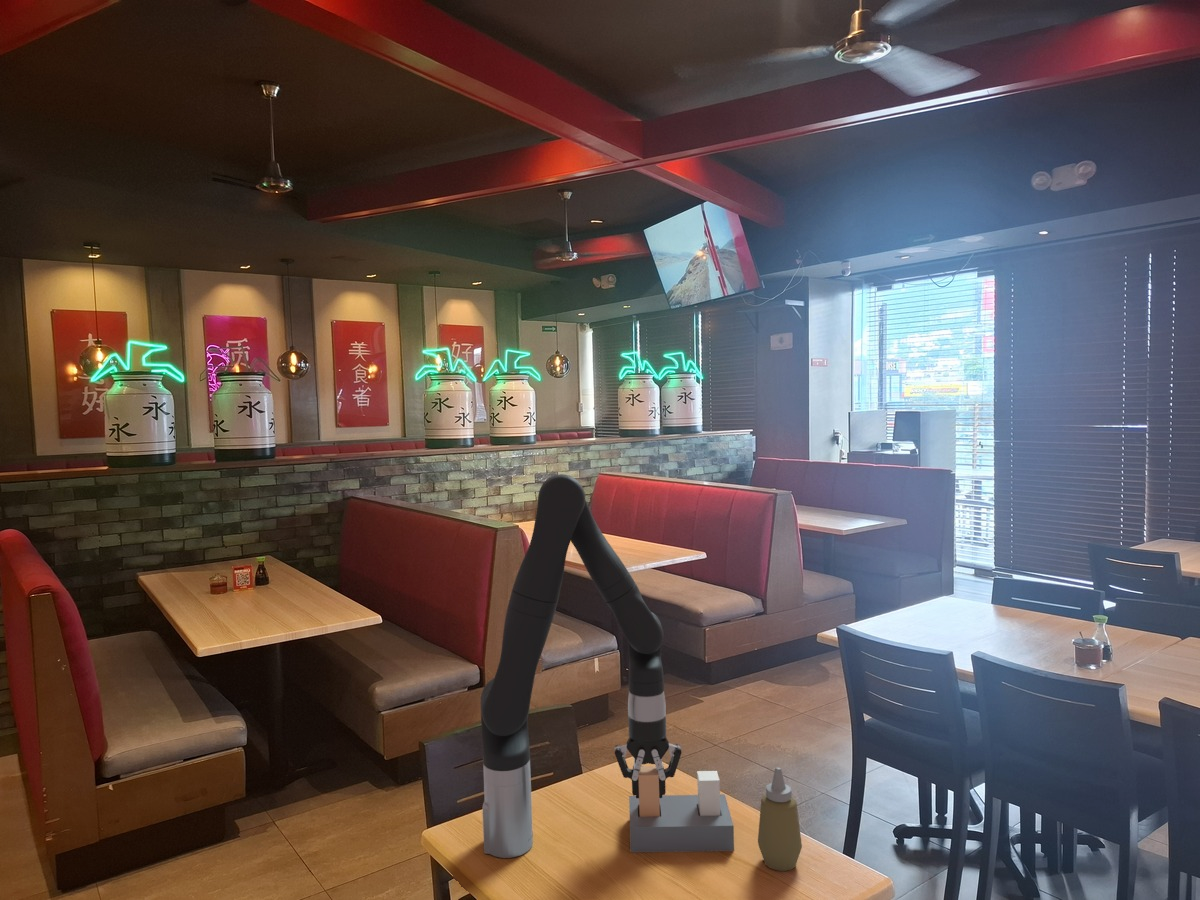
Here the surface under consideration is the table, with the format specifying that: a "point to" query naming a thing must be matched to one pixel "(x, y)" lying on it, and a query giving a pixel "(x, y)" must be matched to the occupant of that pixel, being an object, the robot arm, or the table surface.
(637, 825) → the block
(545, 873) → the table surface
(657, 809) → the terracotta plug
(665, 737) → the robot arm
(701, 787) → the offwhite plug
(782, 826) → the squeeze bottle
